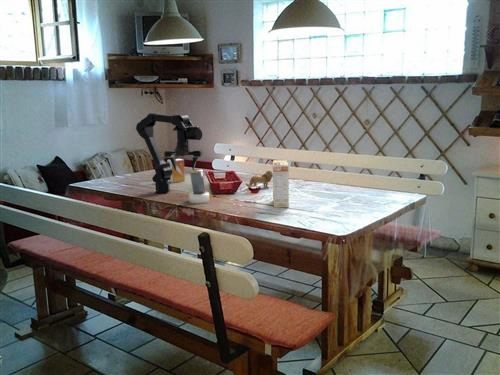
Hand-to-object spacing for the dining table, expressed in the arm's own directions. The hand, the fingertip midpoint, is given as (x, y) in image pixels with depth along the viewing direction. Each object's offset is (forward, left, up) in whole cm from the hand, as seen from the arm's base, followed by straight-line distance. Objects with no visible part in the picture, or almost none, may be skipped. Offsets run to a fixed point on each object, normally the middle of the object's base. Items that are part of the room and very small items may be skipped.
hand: (184, 170), depth 251 cm
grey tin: (+10, -13, -9) cm, 19 cm away
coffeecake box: (+50, -18, -13) cm, 55 cm away
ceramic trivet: (+10, -13, -13) cm, 21 cm away
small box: (-14, +36, -13) cm, 41 cm away
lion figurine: (+37, +18, -13) cm, 44 cm away
